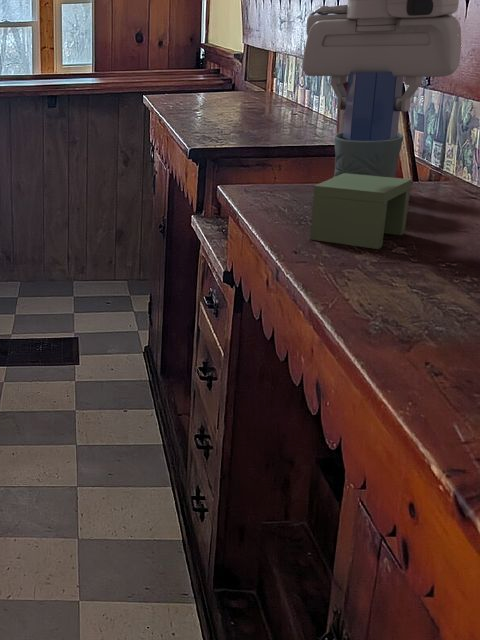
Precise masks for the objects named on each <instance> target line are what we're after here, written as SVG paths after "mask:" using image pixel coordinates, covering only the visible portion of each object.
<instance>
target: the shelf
mask: <svg viewBox="0 0 480 640" xmlns="http://www.w3.org/2000/svg"><path fill="white" fill-rule="evenodd" d="M333 177H334V176H333ZM333 177H332V178H328V179H327V180H325V181H322V182H320V183H317V184H315V185H314V187H313V197H312V198H313V199H312V210H311V222H310V233H309V240H311V241H319V242H324V243H325V242H326V243H333V244H338V245H346V246H352V247H353V246H354V247H360V248H367V249H373V250H380V249H381V248H382V247H383V243H384V235H385V234H386V235H394V236H395V235H396V236H403V235H404V234H405V233H406V225H407V219H408V218H407V217H408V210H409V204H410V203H409V201H410V196H411V195H410V194H411V186H412V179H411V178H399V177H395V178H391V177H380V176H369V175H358V174H347V173H343V174H341V175H338V176H336V177H334V178H333Z"/></svg>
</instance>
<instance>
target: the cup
mask: <svg viewBox="0 0 480 640" xmlns="http://www.w3.org/2000/svg"><path fill="white" fill-rule="evenodd" d="M404 79H405V78H404V77H403V76H393V74H392V72H350V75H349V76H348V85H347V96H346V108H345V119H344V130H343V138H346V139H349V140H358V141H380V140H390V139H393V138H395V137H397V133H399V131H398V130H399V122H400V115H401V114H400V113H401V112H400V111H395V110H394V107H395V98H398V97H402V96H403V86H404Z"/></svg>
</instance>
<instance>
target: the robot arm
mask: <svg viewBox="0 0 480 640" xmlns="http://www.w3.org/2000/svg"><path fill="white" fill-rule="evenodd" d="M459 4H460V0H347V4H342V5H341V4H340V5H333V6H332V5H331V6H329V5H322V6H318V8H317V9H315V10H313V11H312V12H311V13H310V14H309V15H308V17H307V21H306V36H307V37H306V41H305V45H304V50H303V57H302V65H301V66H302V71H303V72H304V74H305V75H306V76H307V77H330V86H331V88H332V90H333V92H334V94H335V97H336V98H337V100H336V103H337V104H336V109H337V111H338V110H345V108H346V96H347V93H346V91H345V88H344V86H343V83H346V82H347V76H349V75H350V72H392V74H393V76H403V77H405V78H404V79H405V80H404V85H405V86H408V87H407V89H406V90H405V91H404V93H403V94H402V96H401V97H398V98H395V107H394V110H395V111H400V113H401V112H404V113H406V112H409V110H410V107H411V101H412V100H411V98H412V97H413V96H414V95H415V93H416V92H417V90H418V89H419V88H420V86H421V85H422V80H423V77H424V78H427V77H428V78H429V77H430V78H435V77H436V78H442V77H444V78H445V77H448V76H452V75H453V74H454V73H455V72H457V71H456V70H458V68H459V66H460V62H461V51H462V30H461V29H462V27H461V24H460V21H459V19H458V18H457V17H455V16H454V15H452V14H455V13H456V12H457V11H458V8H459Z"/></svg>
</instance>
